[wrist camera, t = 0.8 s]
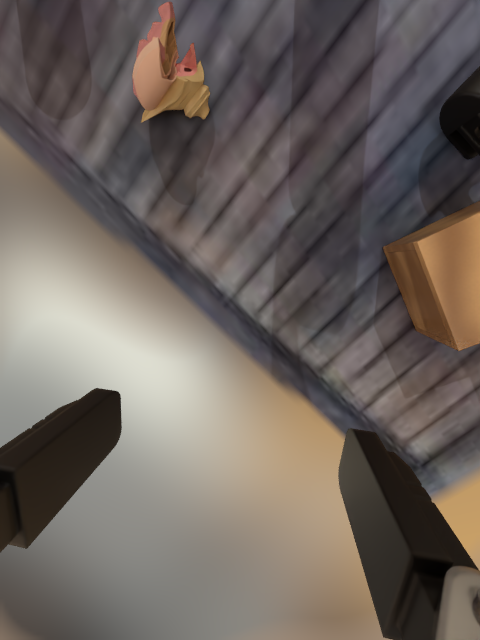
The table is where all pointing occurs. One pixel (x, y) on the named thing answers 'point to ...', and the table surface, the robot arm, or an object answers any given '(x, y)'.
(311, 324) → the table surface
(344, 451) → the robot arm
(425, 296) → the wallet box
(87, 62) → the table surface
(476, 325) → the box lid
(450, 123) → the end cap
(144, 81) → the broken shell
